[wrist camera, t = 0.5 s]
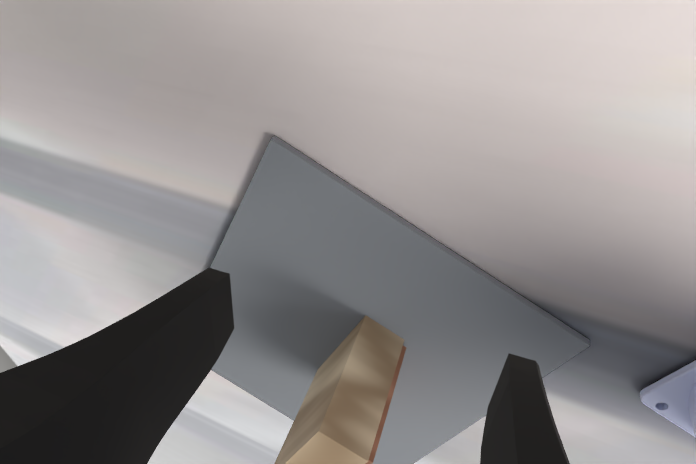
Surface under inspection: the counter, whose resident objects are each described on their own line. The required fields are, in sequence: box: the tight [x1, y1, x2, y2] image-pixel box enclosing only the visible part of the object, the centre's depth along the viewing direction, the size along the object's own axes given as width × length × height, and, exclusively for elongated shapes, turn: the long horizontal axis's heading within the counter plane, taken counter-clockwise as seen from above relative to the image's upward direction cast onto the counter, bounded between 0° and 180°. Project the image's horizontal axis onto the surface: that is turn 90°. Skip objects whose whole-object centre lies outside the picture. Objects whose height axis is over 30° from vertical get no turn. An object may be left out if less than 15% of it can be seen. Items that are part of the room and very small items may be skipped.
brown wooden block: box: [275, 315, 406, 464], centre depth 25 cm, size 3×6×7 cm, turn 152°
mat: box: [210, 136, 590, 464], centre depth 28 cm, size 17×18×1 cm
